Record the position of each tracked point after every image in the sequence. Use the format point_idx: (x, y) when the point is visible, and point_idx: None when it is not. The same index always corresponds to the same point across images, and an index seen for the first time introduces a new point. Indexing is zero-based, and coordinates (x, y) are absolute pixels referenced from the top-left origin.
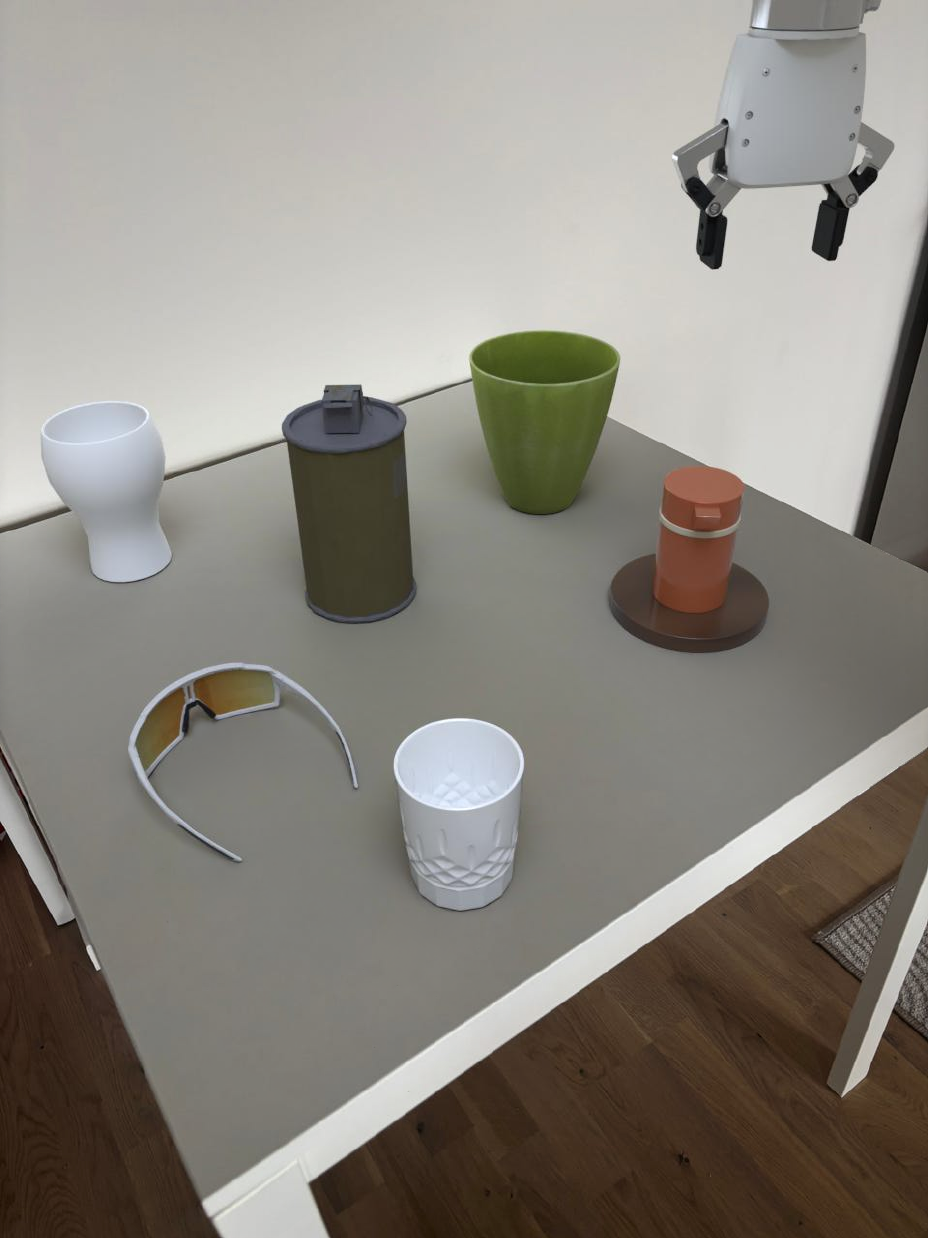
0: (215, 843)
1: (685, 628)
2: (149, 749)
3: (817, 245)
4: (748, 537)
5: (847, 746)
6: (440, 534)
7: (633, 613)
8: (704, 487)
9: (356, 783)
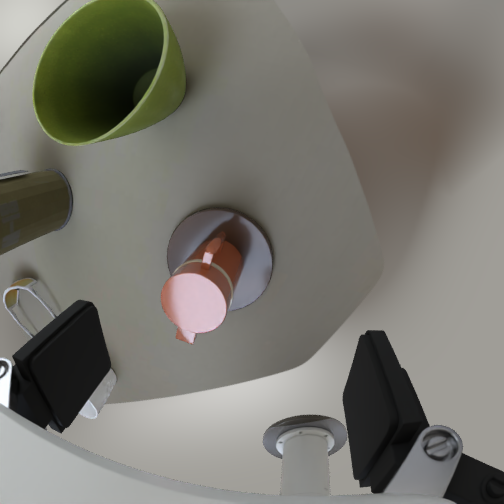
0: None
1: None
2: (13, 297)
3: (358, 365)
4: (303, 185)
5: (255, 375)
6: None
7: None
8: (191, 310)
9: None
